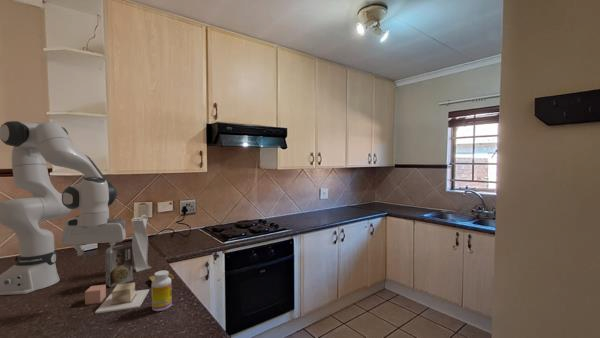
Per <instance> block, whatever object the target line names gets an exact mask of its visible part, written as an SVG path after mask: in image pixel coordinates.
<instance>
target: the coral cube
mask: <svg viewBox="0 0 600 338" xmlns="http://www.w3.org/2000/svg"><path fill="white" fill-rule="evenodd" d="M105 298H107V284H100V285H99V284H98V285H91V286H90V287H89V288H87V289H86V290H85V291H84V305H85V306H86V305H92V304H93V305H94V304H102V303H103V302H104V299H105Z"/></svg>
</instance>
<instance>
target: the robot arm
mask: <svg viewBox="0 0 600 338" xmlns="http://www.w3.org/2000/svg"><path fill="white" fill-rule="evenodd" d="M0 140H1V141H2V143H4V144H5V145H6V146H9V147H10V146H11V147H12V150H11V167H12V175H13V182H14V186H16V187H17V188H19V189H21V190H24V191H27V192H29V193H30V194H31V195H32V197H22V198H21V197H20V198H14V199H9V200H6V201H5V200H4V201H2V202H0V225H2V226H4V227H7V228H9V229H10V230H12V231H13V233H15V235H16V237H17V240H18V247H19V255H18V256H16V257H15V258H12V259H11V262H12V263H13V262H14V264H13V265H12V266H11V267H10V268H9V267H8V269H7V270H5V271H3V272H2V273H1V274H0V296H6V295H7V296H9V295H11V296H12V295H25V294H29V293H32V292H34V291H37V290H38V291H39V290H41V289H45V288H47V287H51V286H53V285H55V284H57V283H59V281H60V280H61V279H60V276H59V274H58V269H57V264H56V262H57V252H56V249H55V235H54V233H53V232H52V230H51V231H50V230H49V229H46V228H42V227H41V228H40V226H39V223H40V222H44V221H51V220H56V219H60V218H63V217H66V216H68V215H69V214H70V213H71V211H72V210H80V215H77V216H75V217H71V218H69V219H66V220H65V221H64V226H65V227H64V228H63V230H62V235H61V243H62V244H63V245H64V246H70V245H71V246H72V245H73V248H74V249H75V250H76V252H77V256H78V257H80V256H84V255H85V249H82V247H81V246H82V245H89V244H107V243H108V244H109V246H110V248H109V247H107V248H108V249H106V254H111V253H112V248H113V247H114V246H116V243H122V242H123V241H124V240H125V239H126V236H127V234H126V227H127V226H126V225H127V224H126V223H127V222H126V220H125V219H124V218H121V217H117V218H114V217H113V218H110V208H109V207H110V206H111V205H112V204H113V203H115V201H116V199H117V197H118V192H117V189H116V187H115V186H114V185H113V184H111V182H109V181H108V179H107V177H105V176H104V174H103V173H102V172H101V170H100V169H99V167H98V166H97V165H96V163H95V162H94V161H93V160H92V159H91V158H90V156H88V155H87V154H84V153H83V152H82V151H80V149H78V148H77V146H75V144H74V143H73V141H72V140H71V138H70V136H69V132H68V131H67V129H66V128H65V127H63V126H61V125H60V124H58V123H56V122H51V121H48V122H47V121H45V122H31V121H19V120H12V121H10V120H9V121H5V122H4V123H3V124H1V126H0ZM47 163H48V164H50V165H53V166H56V167H59V168H66V169H70V170H74V171H77V172H80V173H81V174H82V175H83V176H84V177H85V178H82V180H81V181H80V182H79V183H77V184H73V185H69V186H67V187H66V188H65V189H64V190H63V191H62V192H61V193H60V192H59V191H58V189H56V188H55V187H54V185H53V184H52V181H51V180H50V175H49V171H48V170H49V169H48V164H47Z"/></svg>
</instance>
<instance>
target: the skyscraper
mask: <svg viewBox="0 0 600 338" xmlns="http://www.w3.org/2000/svg"><path fill="white" fill-rule="evenodd" d="M144 217H146V218H144ZM148 220H149V218H148V215H146V214H143V215H141V216H140V217H134V218H132V219H131V224H132V228H133V232H132V239H131V246H132V258H133V261H134V262H133V263H134V265H133V271H134V272H136V273H139V272H142V271H145V270H149V269H152V268H153V267H152V266H151V265H149V263H148V262H149V261H148V260H149V258H148V250H149V236H148V232H147V224H148Z"/></svg>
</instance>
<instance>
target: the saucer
mask: <svg viewBox="0 0 600 338" xmlns="http://www.w3.org/2000/svg"><path fill="white" fill-rule="evenodd" d="M168 277H169V278H170V279H171V282H172V281H174V279H175V277H174V276H173V275H172V274H171V273H170V272H169V275H168ZM149 280H150V281H151V283H152V282H153V281H154V280H155V277H154V275H150V276H149Z"/></svg>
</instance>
